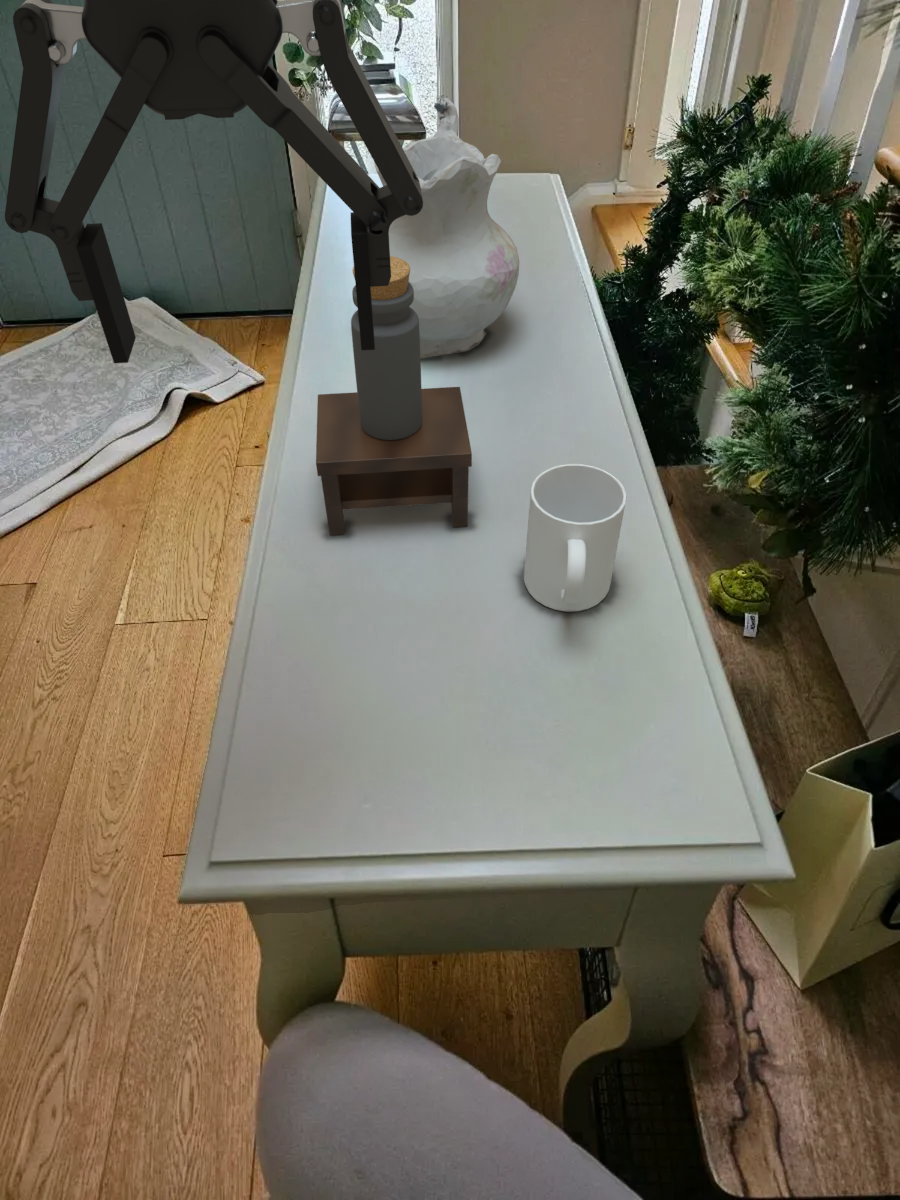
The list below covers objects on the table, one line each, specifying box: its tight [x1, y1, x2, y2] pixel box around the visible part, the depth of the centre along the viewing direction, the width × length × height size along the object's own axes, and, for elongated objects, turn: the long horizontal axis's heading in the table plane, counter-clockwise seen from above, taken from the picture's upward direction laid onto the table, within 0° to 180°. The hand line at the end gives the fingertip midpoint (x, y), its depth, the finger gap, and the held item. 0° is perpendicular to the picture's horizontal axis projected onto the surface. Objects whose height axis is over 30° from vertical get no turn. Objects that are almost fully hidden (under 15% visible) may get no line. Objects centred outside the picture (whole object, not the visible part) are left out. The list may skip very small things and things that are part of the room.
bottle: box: [350, 256, 422, 440], centre depth 75 cm, size 6×6×15 cm
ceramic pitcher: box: [373, 94, 520, 359], centre depth 101 cm, size 22×20×25 cm
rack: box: [315, 386, 473, 536], centre depth 84 cm, size 14×11×9 cm
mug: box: [523, 463, 627, 612], centre depth 73 cm, size 12×8×10 cm, turn 174°
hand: (247, 344), depth 49 cm, fingers open, 13 cm apart
